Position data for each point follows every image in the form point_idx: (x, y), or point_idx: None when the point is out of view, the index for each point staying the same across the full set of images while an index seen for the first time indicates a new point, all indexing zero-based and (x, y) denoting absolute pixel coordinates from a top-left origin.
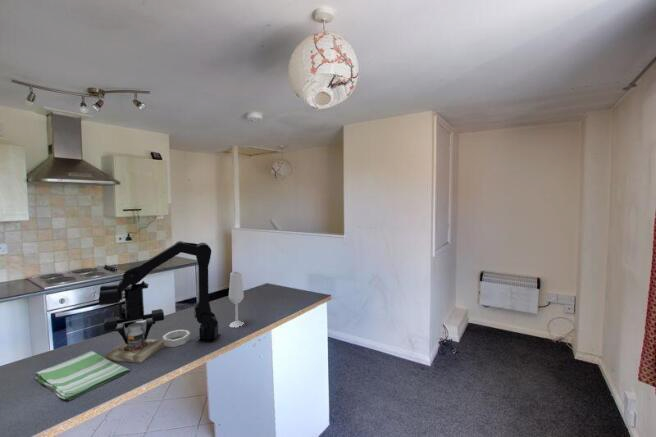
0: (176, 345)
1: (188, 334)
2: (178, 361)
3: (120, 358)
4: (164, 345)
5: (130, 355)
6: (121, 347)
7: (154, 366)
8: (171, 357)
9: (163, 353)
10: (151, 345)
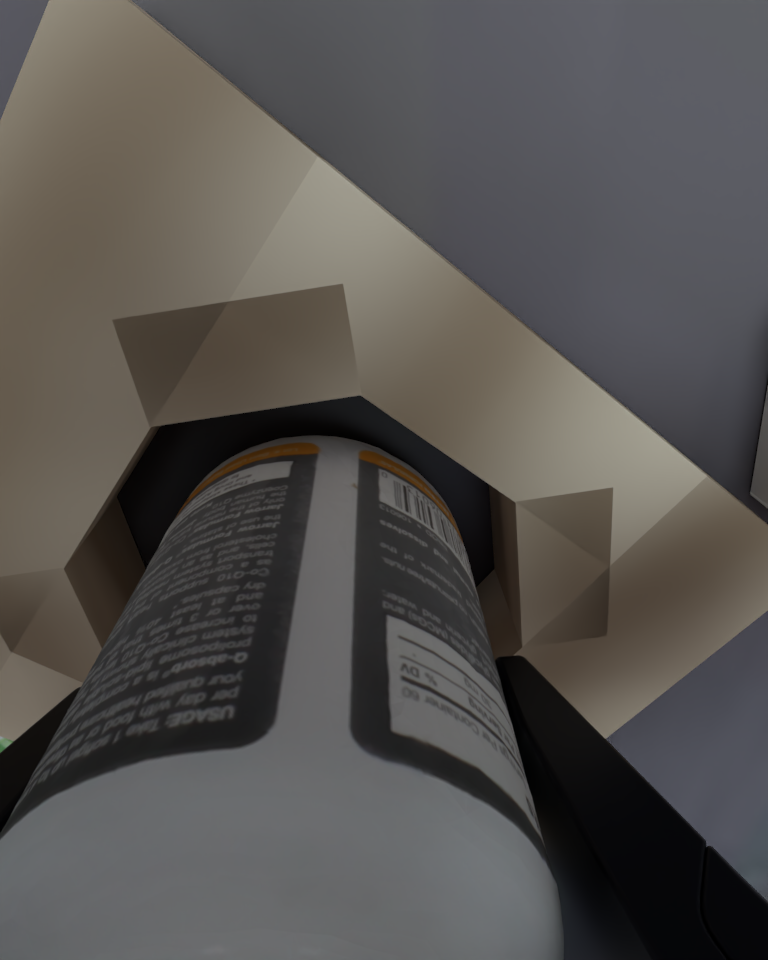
0: None
1: None
2: (747, 881)
3: None
4: (757, 496)
5: None
6: (8, 539)
7: None
8: (718, 803)
9: (668, 694)
10: (571, 678)
